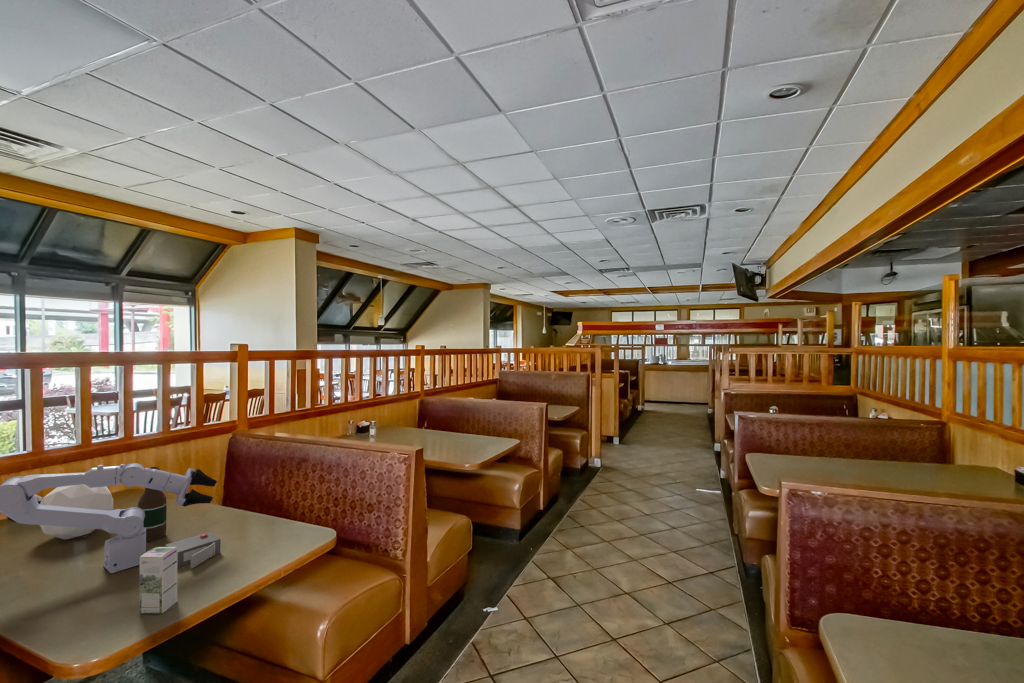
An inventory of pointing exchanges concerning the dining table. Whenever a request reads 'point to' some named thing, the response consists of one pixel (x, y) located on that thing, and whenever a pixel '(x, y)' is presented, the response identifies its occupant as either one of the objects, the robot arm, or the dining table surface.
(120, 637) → the dining table surface
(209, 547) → the side door
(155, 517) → the beer bottle
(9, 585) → the dining table surface
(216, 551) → the camera body
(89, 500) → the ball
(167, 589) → the syrup box
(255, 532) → the dining table surface
